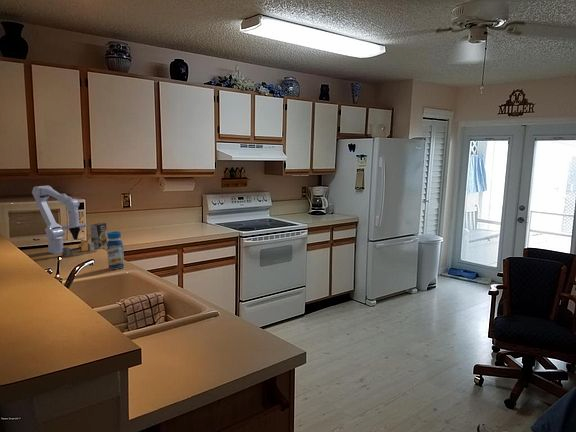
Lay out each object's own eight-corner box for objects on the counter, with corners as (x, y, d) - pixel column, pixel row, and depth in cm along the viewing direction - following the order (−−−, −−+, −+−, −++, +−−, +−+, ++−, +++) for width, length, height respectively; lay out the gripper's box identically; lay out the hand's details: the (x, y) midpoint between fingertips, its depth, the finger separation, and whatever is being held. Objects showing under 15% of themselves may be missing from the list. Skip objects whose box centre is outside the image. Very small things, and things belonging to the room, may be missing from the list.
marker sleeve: (79, 250, 277) (78, 240, 276) (85, 249, 280) (84, 238, 279) (82, 251, 274) (81, 240, 273) (88, 250, 278) (87, 239, 277)
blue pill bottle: (128, 266, 241) (125, 231, 239) (118, 270, 233) (115, 234, 230) (114, 265, 244) (112, 230, 241) (105, 269, 236) (102, 233, 233)
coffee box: (100, 249, 288) (98, 225, 286) (91, 248, 289) (89, 224, 287) (108, 246, 297) (106, 222, 295) (100, 245, 298) (98, 222, 296)
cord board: (61, 255, 271) (60, 246, 270) (89, 250, 285) (89, 241, 284) (68, 257, 266) (67, 248, 265) (96, 251, 279) (96, 243, 279)
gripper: (65, 220, 263) (67, 242, 265) (88, 217, 275) (89, 238, 277) (59, 219, 268) (61, 240, 270) (82, 216, 279) (84, 237, 281)
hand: (75, 239), depth 273 cm, fingers closed
